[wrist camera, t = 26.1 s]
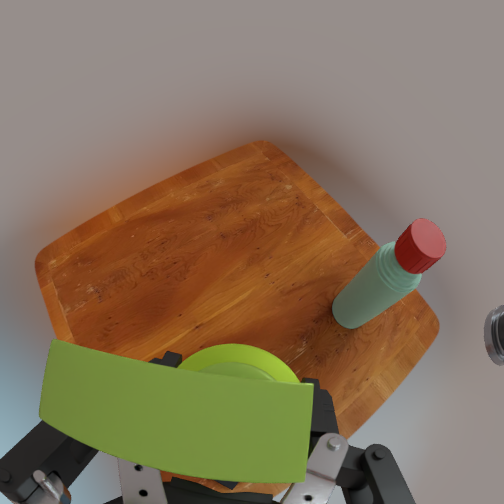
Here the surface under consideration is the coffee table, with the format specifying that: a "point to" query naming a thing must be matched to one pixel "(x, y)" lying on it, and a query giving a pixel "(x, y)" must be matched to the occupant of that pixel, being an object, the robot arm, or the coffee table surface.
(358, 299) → the bottle
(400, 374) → the coffee table surface
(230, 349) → the soap dispenser
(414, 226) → the cap
